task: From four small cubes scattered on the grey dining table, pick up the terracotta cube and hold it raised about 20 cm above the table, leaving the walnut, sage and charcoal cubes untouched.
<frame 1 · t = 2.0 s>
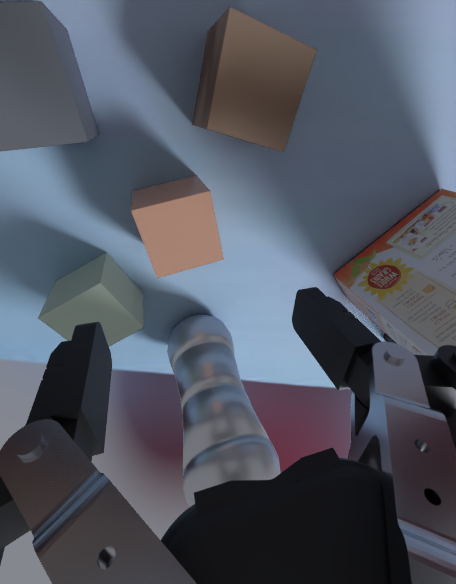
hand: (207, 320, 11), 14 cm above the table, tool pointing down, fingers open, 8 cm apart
sage cube: (101, 287, 24), on the table
charcoal cube: (40, 89, 16), on the table
terracotta cube: (174, 214, 22), on the table
cracker box: (389, 248, 31), on the table
plastic bottle: (195, 329, 30), on the table
walnut cube: (234, 94, 18), on the table
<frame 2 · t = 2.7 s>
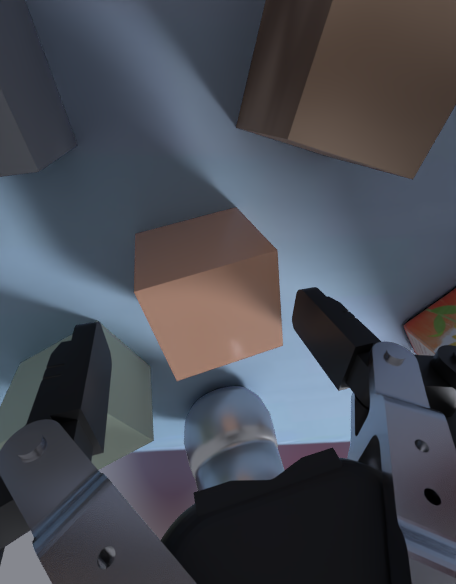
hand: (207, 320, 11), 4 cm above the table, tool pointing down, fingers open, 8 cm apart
sage cube: (91, 364, 16), on the table
terracotta cube: (198, 263, 14), on the table
plastic bottle: (219, 399, 22), on the table
walnut cube: (308, 75, 11), on the table
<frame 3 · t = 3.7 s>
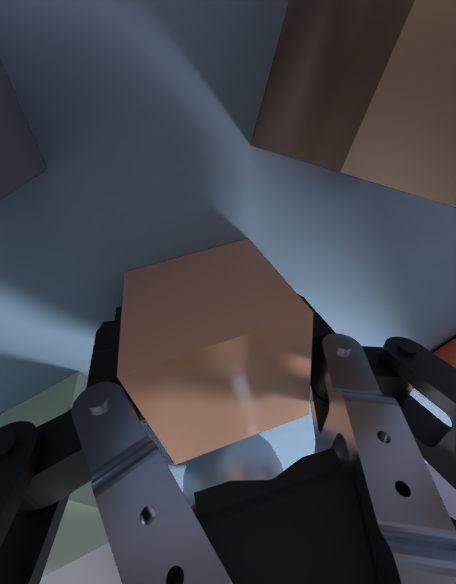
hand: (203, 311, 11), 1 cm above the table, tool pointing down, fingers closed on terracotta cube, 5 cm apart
sage cube: (73, 417, 14), on the table
terracotta cube: (201, 303, 12), on the table, touching gripper
plastic bottle: (222, 442, 20), on the table
walnut cube: (341, 81, 9), on the table
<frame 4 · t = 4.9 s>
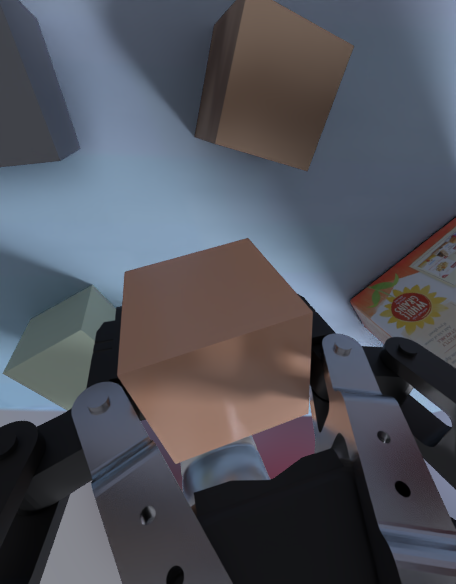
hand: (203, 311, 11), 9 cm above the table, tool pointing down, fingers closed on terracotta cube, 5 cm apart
sage cube: (87, 323, 20), on the table
charcoal cube: (4, 94, 13), on the table
terracotta cube: (201, 303, 12), point 8 cm above the table, touching gripper
cracker box: (409, 270, 28), on the table
plastic bottle: (196, 364, 26), on the table
walnut cube: (244, 101, 15), on the table
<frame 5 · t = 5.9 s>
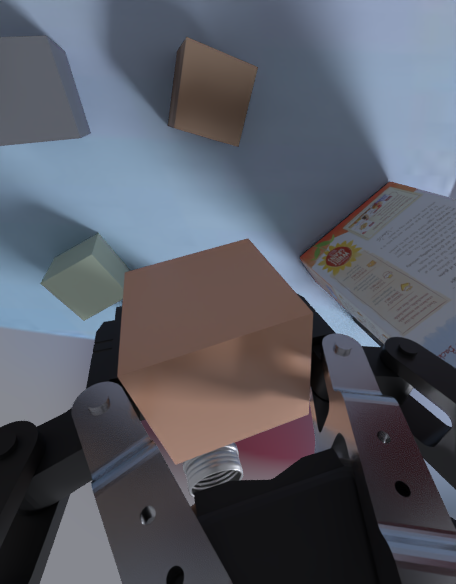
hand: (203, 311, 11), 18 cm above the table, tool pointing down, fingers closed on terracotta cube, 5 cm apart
sage cube: (94, 264, 28), on the table
charcoal cube: (43, 97, 20), on the table
terracotta cube: (201, 303, 12), point 18 cm above the table, touching gripper
cracker box: (348, 234, 35), on the table
plastic bottle: (178, 305, 34), on the table
walnut cube: (201, 100, 23), on the table
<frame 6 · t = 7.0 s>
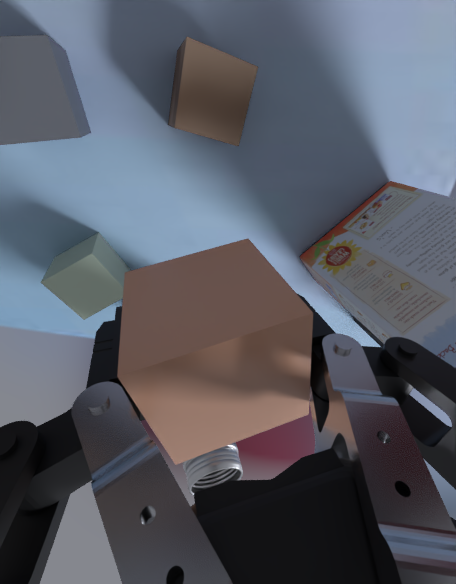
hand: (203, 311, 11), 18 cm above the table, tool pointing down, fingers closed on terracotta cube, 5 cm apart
sage cube: (94, 263, 28), on the table
charcoal cube: (43, 96, 20), on the table
terracotta cube: (201, 303, 12), point 18 cm above the table, touching gripper
cracker box: (348, 234, 35), on the table
plastic bottle: (178, 304, 34), on the table
walnut cube: (201, 100, 23), on the table
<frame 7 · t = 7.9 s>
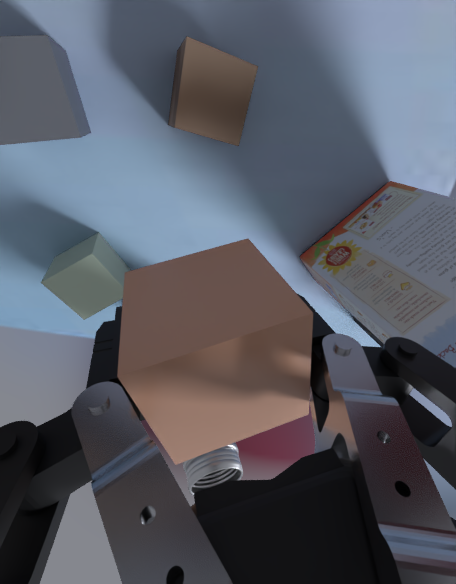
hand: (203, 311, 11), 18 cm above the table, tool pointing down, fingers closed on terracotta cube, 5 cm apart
sage cube: (94, 263, 28), on the table
charcoal cube: (43, 96, 20), on the table
terracotta cube: (201, 303, 12), point 18 cm above the table, touching gripper
cracker box: (348, 234, 35), on the table
plastic bottle: (178, 304, 34), on the table
walnut cube: (201, 100, 23), on the table
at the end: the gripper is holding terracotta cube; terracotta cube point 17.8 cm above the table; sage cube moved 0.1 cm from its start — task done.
